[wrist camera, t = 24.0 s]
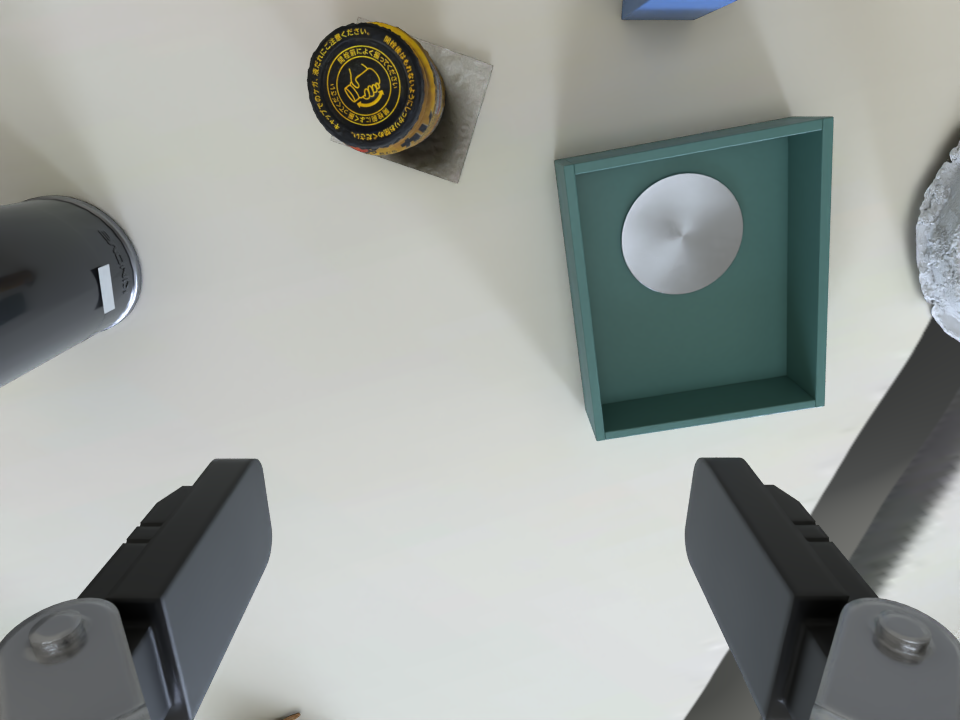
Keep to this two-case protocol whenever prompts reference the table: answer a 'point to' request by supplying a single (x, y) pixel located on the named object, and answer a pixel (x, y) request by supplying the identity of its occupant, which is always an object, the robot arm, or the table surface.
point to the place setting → (292, 717)
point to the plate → (681, 233)
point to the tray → (717, 307)
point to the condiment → (397, 96)
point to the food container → (941, 245)
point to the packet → (669, 9)
